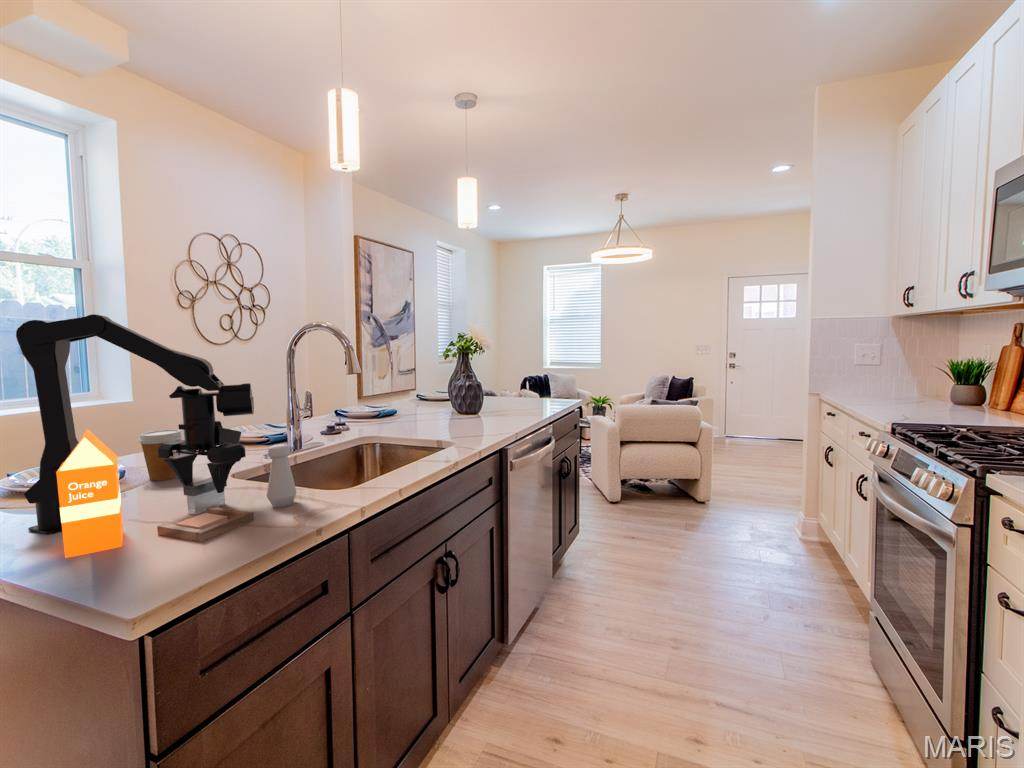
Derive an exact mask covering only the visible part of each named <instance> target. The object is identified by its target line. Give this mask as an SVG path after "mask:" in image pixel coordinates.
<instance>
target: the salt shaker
mask: <svg viewBox="0 0 1024 768" xmlns="http://www.w3.org/2000/svg"><path fill="white" fill-rule="evenodd" d="M267 450H268V451H267V454H268V457H269V458H271V465H270V471H269V477H268V478H269V479H268V483H267V491H266V499H268V501H269V503H270V504H271V506H272V508H284V507H289V506H291V505H292V504H294V501H295V498H296V495H297V488H296V484H295V480H294V477H293V472H292V470H291V469H292V468H291V465H290V461H289V457H288V456H290V455H291V447H290V446H289V445H288V444H285V443H278V444H277V443H276V444H274V445H271V446H270V447H269V448H268V449H267Z"/></svg>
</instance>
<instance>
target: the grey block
mask: <svg viewBox="0 0 1024 768" xmlns="http://www.w3.org/2000/svg"><path fill="white" fill-rule="evenodd" d="M227 482H228V481H227ZM227 482H226V485H225V487H227V486H228V484H227ZM182 491H183V495H184V496H186V499H187V500H186V501H187V511H188V514H189V515H195V516H197V515H198V514H201V513H204V512H207V508H210V507H217V508H219V507H220V506H223V505H225V504H226V497H225V496H226V495H225V490H224V491H223V492H222V493H217V490H216V488H215V486H214V483H213V480H212V477H211V476H210V477H208V478H205V479H201V480H198V481H193V483H190V484H187V485H183V484H182Z"/></svg>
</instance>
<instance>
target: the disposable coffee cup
mask: <svg viewBox="0 0 1024 768" xmlns="http://www.w3.org/2000/svg"><path fill="white" fill-rule="evenodd" d="M183 435H184V434H182V433H181V429H161V430H160V429H159V430H152V431H147V432H142V433H140V436H139V438H138V442H139V443H140V445H141V448H142V453H143V456H144V461H145V465H146V469H147V473H148V479H149V480H150V481H155V480H157V481H165V480H171V479H175V478H178V477H177V475H176V474H175V473H174V471H173V470H172V469H171V468H170V466H169V465H168V464H167V463H166V462H164V461H163V459H166V458H160V457H159V455H158V448H159V447H160V446H161V444H163V443H168V442H173V441H178V440H182V439H183V438H182V437H183Z"/></svg>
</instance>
